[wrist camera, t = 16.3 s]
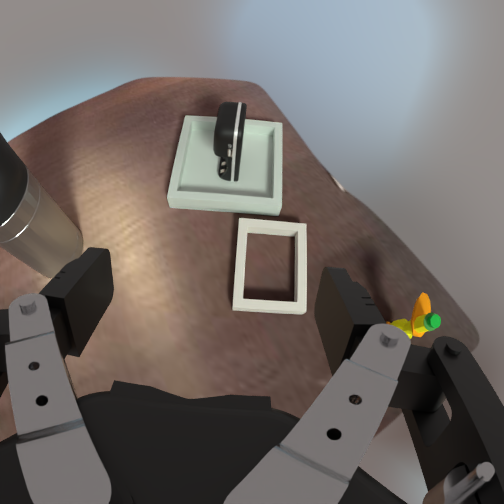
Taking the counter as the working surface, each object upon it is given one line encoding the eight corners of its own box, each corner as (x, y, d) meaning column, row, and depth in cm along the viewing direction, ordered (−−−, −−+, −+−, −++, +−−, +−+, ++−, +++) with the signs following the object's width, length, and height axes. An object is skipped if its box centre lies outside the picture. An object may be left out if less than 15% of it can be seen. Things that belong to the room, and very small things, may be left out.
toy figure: (384, 303, 44) (429, 281, 33) (403, 310, 44) (451, 290, 33) (374, 348, 42) (421, 338, 30) (394, 353, 42) (444, 345, 30)
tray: (169, 207, 46) (166, 197, 44) (186, 127, 52) (185, 115, 49) (278, 216, 47) (281, 206, 45) (279, 134, 53) (282, 123, 50)
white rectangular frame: (232, 310, 42) (232, 307, 40) (238, 224, 46) (239, 217, 44) (302, 314, 43) (306, 311, 41) (303, 229, 47) (306, 223, 45)
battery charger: (218, 146, 50) (219, 94, 39) (242, 148, 50) (247, 97, 39) (212, 182, 47) (211, 132, 37) (237, 184, 48) (242, 134, 37)
